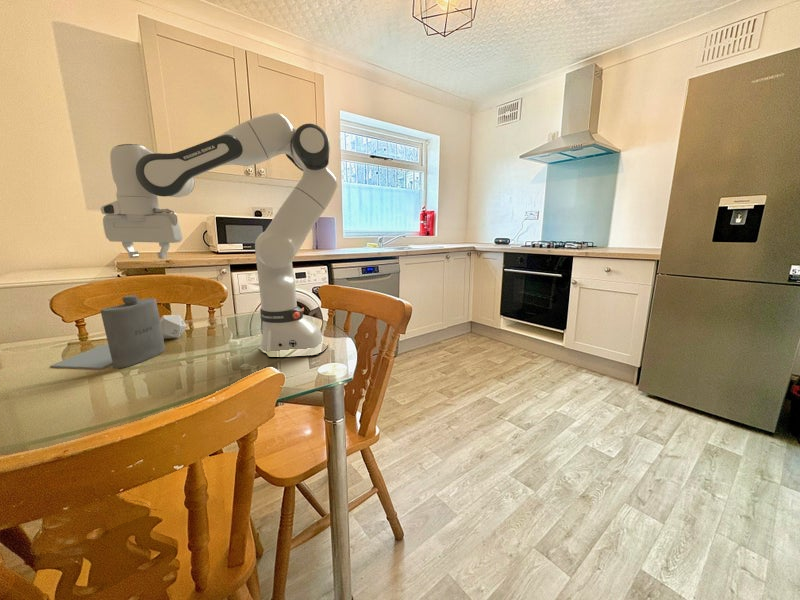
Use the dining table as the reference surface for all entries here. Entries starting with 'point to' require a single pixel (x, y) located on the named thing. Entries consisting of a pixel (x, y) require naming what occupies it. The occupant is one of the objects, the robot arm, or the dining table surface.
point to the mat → (88, 359)
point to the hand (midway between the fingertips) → (148, 258)
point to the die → (172, 326)
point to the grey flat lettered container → (133, 331)
